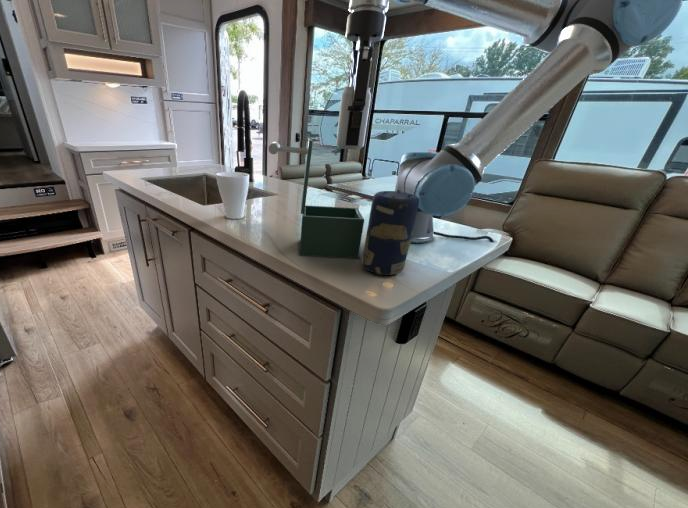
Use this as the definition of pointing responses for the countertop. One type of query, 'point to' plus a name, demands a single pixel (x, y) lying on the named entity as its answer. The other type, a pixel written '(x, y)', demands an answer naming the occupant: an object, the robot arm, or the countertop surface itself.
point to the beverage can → (344, 117)
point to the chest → (331, 231)
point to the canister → (389, 231)
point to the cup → (233, 192)
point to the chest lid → (276, 147)
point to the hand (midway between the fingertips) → (350, 144)
